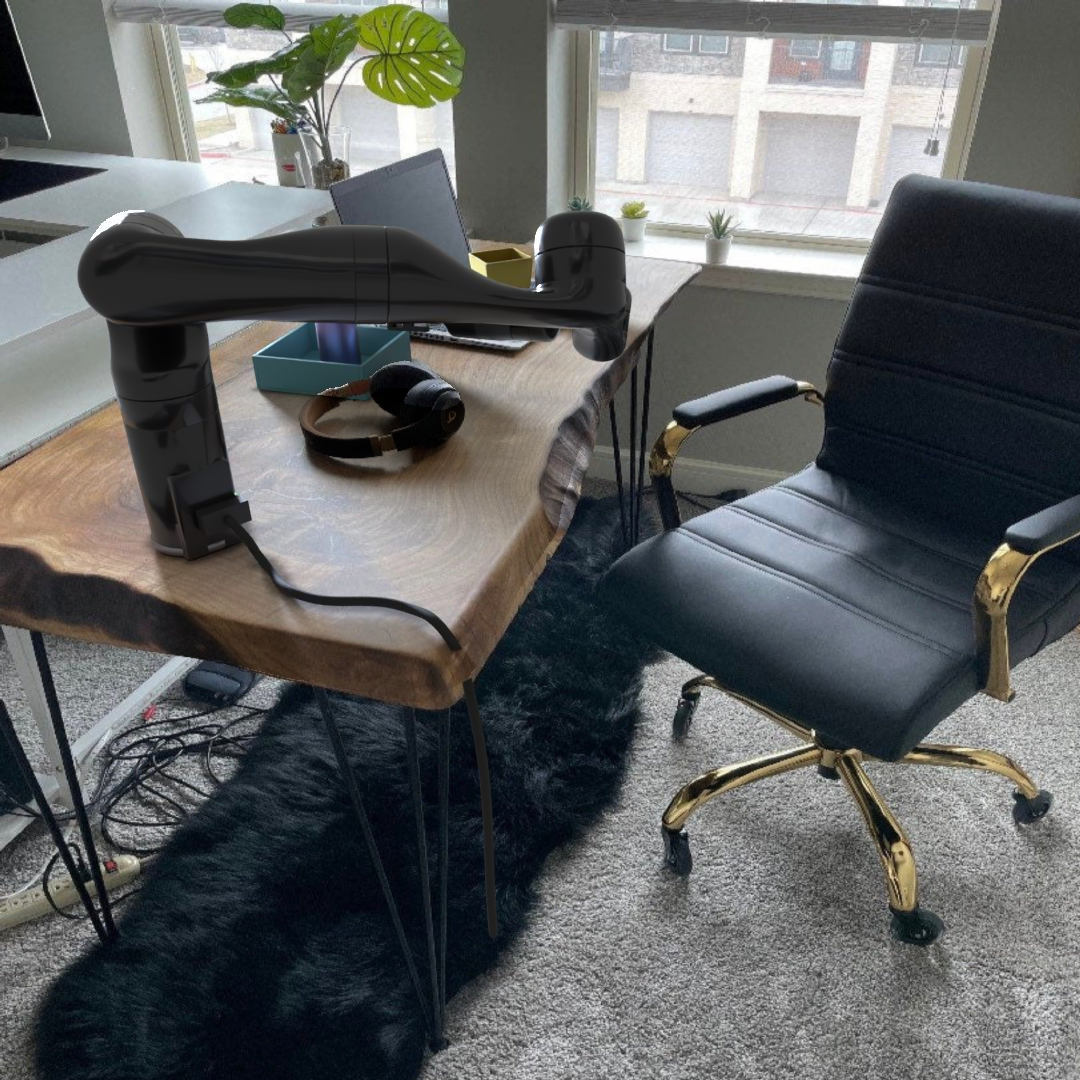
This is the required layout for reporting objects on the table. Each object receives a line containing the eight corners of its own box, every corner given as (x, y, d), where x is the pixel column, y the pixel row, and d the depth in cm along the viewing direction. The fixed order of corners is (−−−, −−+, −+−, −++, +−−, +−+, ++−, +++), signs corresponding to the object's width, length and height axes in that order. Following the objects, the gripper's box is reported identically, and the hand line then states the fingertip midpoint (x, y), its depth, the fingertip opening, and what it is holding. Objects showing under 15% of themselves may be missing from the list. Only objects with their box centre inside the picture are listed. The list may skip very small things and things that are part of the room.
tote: (411, 361, 152) (409, 329, 149) (366, 400, 138) (362, 366, 136) (311, 351, 156) (306, 320, 154) (257, 389, 143) (251, 356, 140)
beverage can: (353, 377, 145) (340, 275, 137) (315, 374, 146) (300, 273, 138) (368, 363, 150) (357, 263, 142) (331, 360, 151) (318, 262, 143)
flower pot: (470, 303, 177) (467, 252, 172) (515, 296, 180) (513, 245, 175) (489, 316, 170) (486, 263, 165) (535, 309, 173) (534, 257, 168)
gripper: (468, 355, 131) (357, 345, 136) (503, 322, 143) (399, 314, 147) (465, 299, 128) (351, 291, 132) (501, 270, 139) (395, 263, 143)
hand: (376, 303), depth 139 cm, fingers open, 8 cm apart
